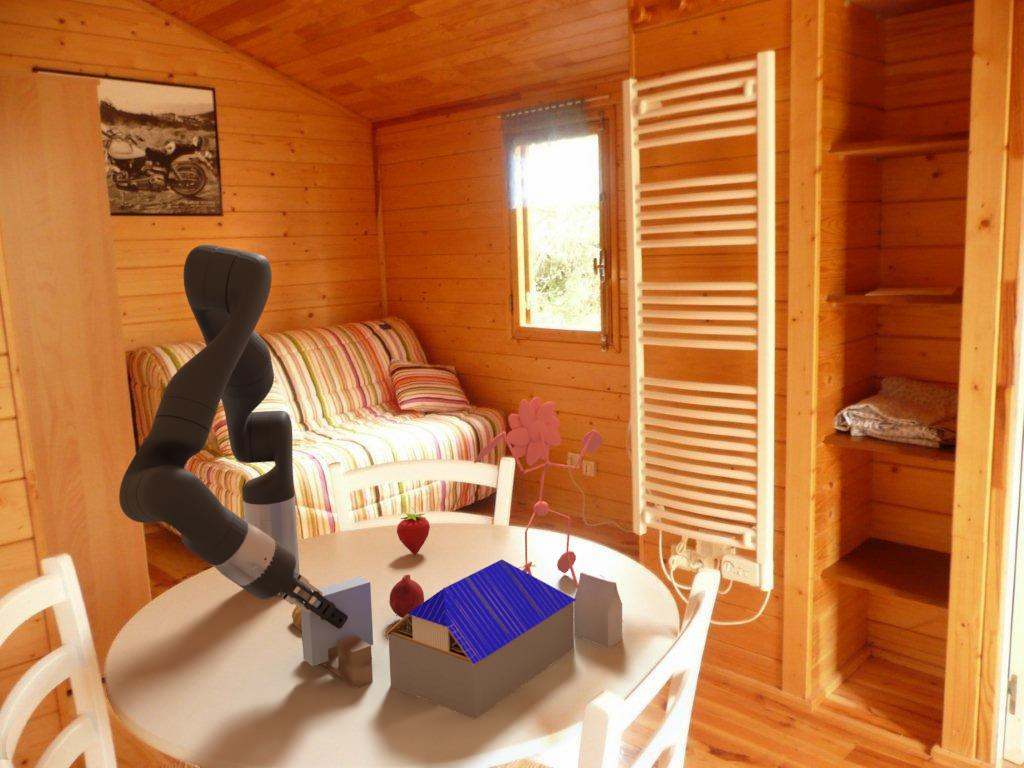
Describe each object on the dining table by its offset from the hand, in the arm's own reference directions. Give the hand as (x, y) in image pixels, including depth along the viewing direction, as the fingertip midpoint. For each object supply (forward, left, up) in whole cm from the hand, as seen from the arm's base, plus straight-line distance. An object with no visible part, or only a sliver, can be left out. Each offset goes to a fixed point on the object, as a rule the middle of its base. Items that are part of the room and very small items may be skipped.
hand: (337, 618), depth 124 cm
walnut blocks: (0, 0, -8) cm, 8 cm away
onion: (-1, +18, -8) cm, 20 cm away
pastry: (-13, +10, -8) cm, 19 cm away
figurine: (+10, +43, -8) cm, 45 cm away
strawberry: (-19, +44, -8) cm, 49 cm away
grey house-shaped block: (+30, +27, -8) cm, 41 cm away
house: (+19, +11, -8) cm, 23 cm away
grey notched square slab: (0, 0, -5) cm, 5 cm away
